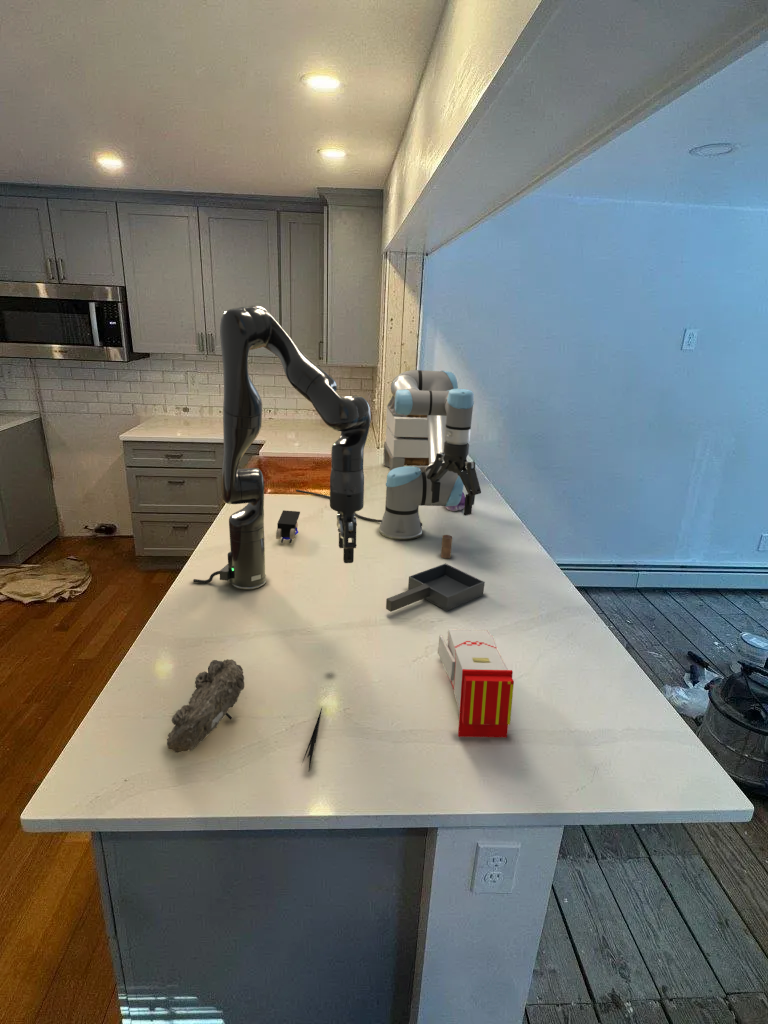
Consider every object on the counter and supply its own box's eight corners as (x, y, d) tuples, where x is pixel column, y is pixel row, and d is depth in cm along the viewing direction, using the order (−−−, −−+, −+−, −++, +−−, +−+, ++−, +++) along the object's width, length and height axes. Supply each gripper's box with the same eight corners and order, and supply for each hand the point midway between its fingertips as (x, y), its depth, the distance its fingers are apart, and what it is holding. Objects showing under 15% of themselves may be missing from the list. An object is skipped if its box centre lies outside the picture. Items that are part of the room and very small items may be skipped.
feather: (331, 679, 122) (336, 673, 122) (307, 777, 96) (313, 769, 95) (324, 675, 122) (329, 669, 121) (298, 772, 95) (304, 764, 95)
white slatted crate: (382, 463, 289) (386, 382, 275) (445, 464, 293) (451, 384, 279) (390, 482, 257) (394, 392, 243) (460, 483, 261) (468, 394, 247)
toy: (488, 613, 130) (523, 677, 101) (484, 667, 133) (517, 744, 104) (435, 612, 130) (455, 676, 101) (432, 666, 133) (451, 743, 103)
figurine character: (295, 549, 186) (301, 528, 200) (295, 529, 183) (300, 509, 196) (275, 549, 186) (282, 527, 199) (274, 528, 183) (281, 508, 196)
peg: (438, 556, 183) (440, 536, 181) (445, 553, 185) (447, 534, 183) (445, 559, 181) (447, 539, 179) (452, 557, 183) (454, 537, 181)
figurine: (452, 513, 222) (455, 476, 217) (438, 505, 231) (441, 469, 226) (471, 510, 227) (475, 474, 221) (457, 502, 235) (460, 467, 230)
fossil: (192, 660, 117) (244, 628, 112) (224, 691, 120) (276, 661, 115) (142, 746, 98) (202, 712, 93) (182, 779, 101) (242, 748, 96)
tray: (407, 627, 141) (408, 612, 140) (369, 604, 152) (370, 589, 150) (483, 595, 159) (484, 580, 158) (444, 575, 170) (445, 562, 168)
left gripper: (326, 479, 131) (326, 543, 137) (333, 498, 118) (333, 568, 124) (358, 478, 133) (357, 542, 138) (369, 497, 120) (367, 567, 125)
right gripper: (418, 435, 177) (414, 499, 184) (481, 452, 159) (473, 522, 167) (435, 432, 181) (430, 495, 189) (497, 448, 164) (489, 517, 171)
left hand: (345, 554), depth 131 cm, fingers open, 8 cm apart
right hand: (450, 508), depth 178 cm, fingers open, 13 cm apart
